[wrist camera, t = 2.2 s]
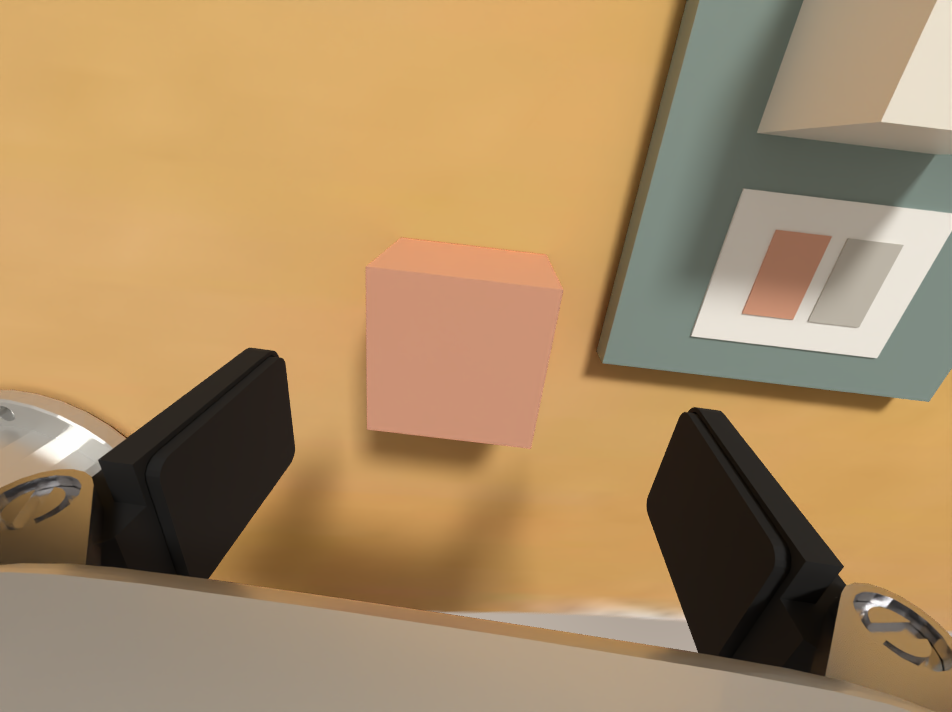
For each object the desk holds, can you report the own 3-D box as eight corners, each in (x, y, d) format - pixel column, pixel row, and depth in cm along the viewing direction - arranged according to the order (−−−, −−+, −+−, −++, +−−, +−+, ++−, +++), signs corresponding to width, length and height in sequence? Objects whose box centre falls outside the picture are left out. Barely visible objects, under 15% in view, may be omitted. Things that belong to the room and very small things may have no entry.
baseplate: (904, 387, 19) (1116, 508, 12) (596, 351, 19) (647, 453, 12) (1213, -96, 12) (2064, -396, 5) (726, -154, 12) (999, -526, 5)
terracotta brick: (523, 381, 20) (530, 448, 15) (397, 367, 20) (367, 429, 15) (546, 254, 17) (563, 289, 13) (401, 237, 17) (365, 266, 13)
